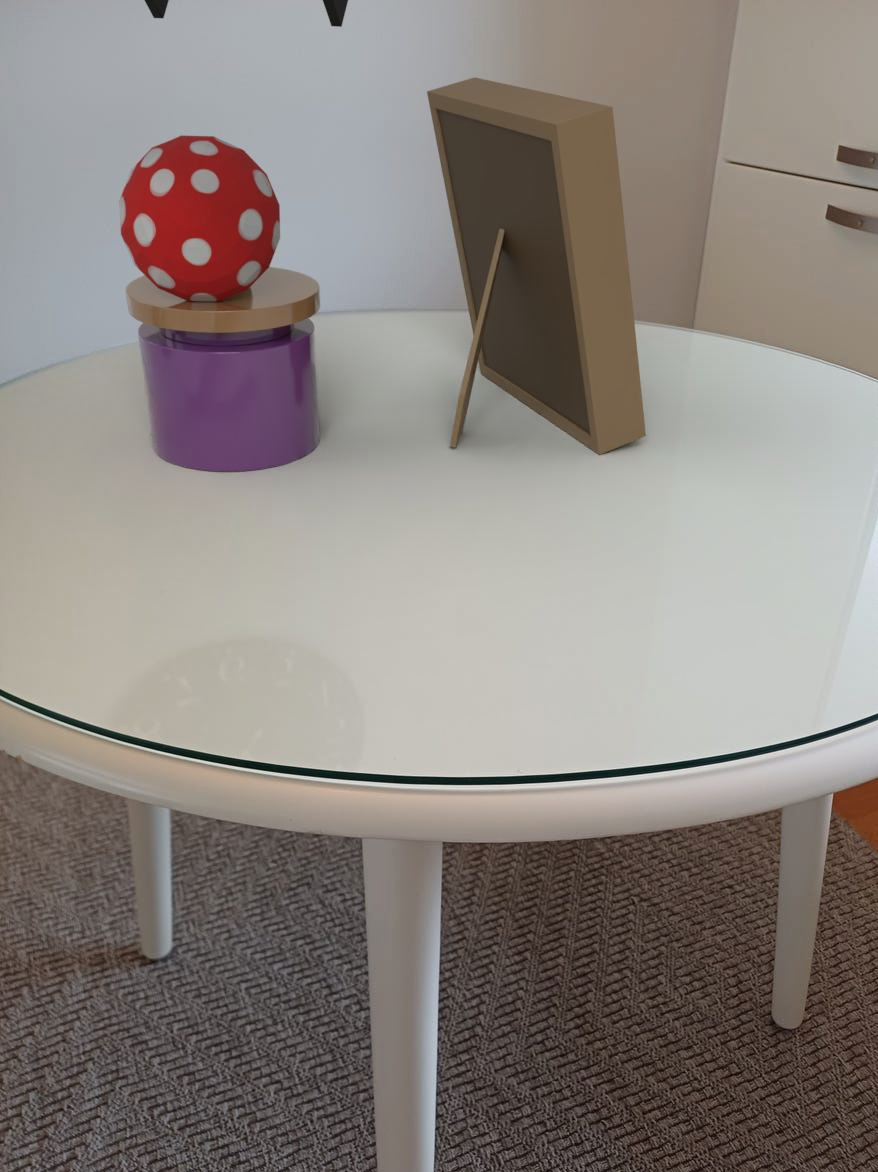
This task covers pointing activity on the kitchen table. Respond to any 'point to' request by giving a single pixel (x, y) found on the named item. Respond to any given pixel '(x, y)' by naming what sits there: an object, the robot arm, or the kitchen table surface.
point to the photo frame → (542, 255)
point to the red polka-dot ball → (199, 218)
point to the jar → (231, 373)
